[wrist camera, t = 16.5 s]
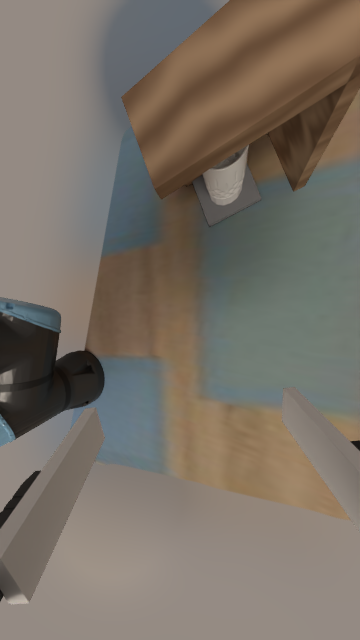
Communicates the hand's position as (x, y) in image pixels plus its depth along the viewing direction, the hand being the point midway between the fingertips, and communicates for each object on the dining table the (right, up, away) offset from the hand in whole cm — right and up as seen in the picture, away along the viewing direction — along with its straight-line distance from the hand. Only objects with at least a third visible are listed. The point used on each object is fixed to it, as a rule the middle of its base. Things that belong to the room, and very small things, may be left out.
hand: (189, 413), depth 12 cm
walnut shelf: (+10, +35, +24) cm, 43 cm away
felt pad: (+9, +34, +24) cm, 43 cm away
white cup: (+9, +34, +24) cm, 43 cm away
